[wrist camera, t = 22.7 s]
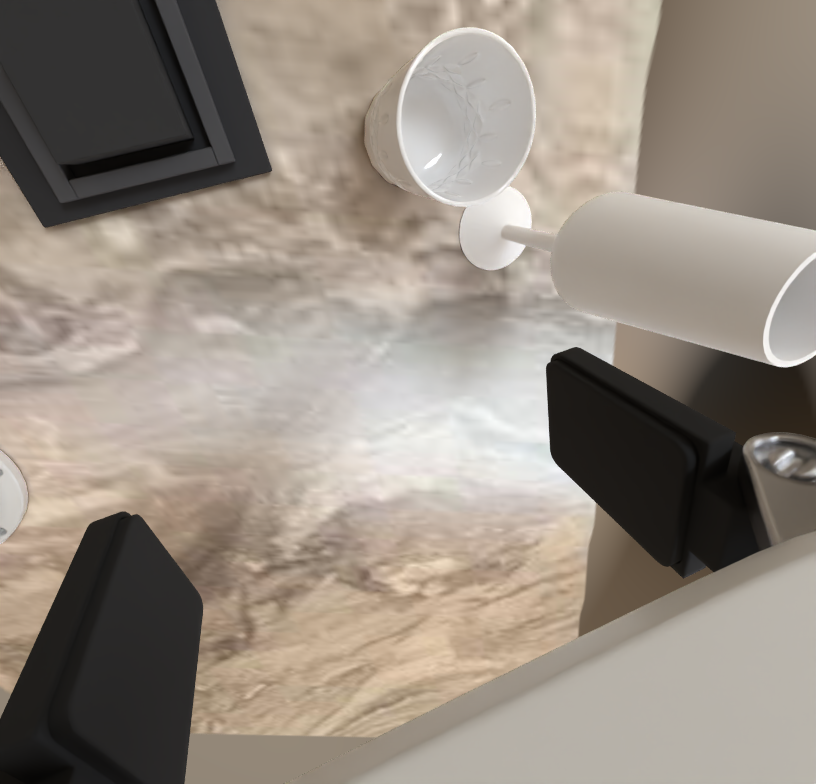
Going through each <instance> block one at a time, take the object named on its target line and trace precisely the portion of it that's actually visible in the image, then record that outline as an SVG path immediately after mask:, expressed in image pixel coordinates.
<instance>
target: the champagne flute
mask: <svg viewBox="0 0 816 784" xmlns="http://www.w3.org/2000/svg"><path fill="white" fill-rule="evenodd" d="M531 224H532V220H531V212H530V208H529V205H528V203H527V201H526V199H525V198H524V197H523V195H522V194H521V193H520V192H519V191H517V190H516V189H514V188H512V187H510V186H508V187H507V188H506V189H505V190H504V191H503V192H501V193H500V194H499V195H497V196H496V197H494V198H493V199H491V200H489V201H487V202H485V203H482V204H479V205H475V206H469V207H466V209H465V211H464V213H463V216H462V219H461V223H460V231H459V237H460V244H461V247H462V250H463V252H464V254H465V256H466V258H467V259H468V260H469V261H470V262H471V263H472V264H473V265H475V266H476V267H478V268H481V269H484V270H497V269H500V268H503V267H505V266H507V265H509V264H511V263H512V262H513V261H514V260H515V259H516V258H517V257H518V256H519V255H520V254H521V253H522V251H523V249H524V248H525V246H526V245H527V246H530V247H534V248H538V249H541V250H545V251H549V252H551V257H550V270H551V276H552V280H553V283H554V286H555V288H556V290H557V292H558V294H559V296H560V297H561V298H562V299H563V301H564V302H565V303H567V304H568V305H569V306H570V307H572V308H573V309H575V310H578V311H580V312H583V313H587V314H591V315H594V316H598V317H602V318H605V319H609V320H612V321H616V322H620V323H623V324H627V325H630V326H634V327H638V328H641V329H645V330H648V331H652V332H656V333H659V334H663V335H666V336H670V337H674V338H678V339H681V340H684V341H688V342H692V343H695V344H699V345H703V346H707V347H710V348H713V349H717V350H720V351H724V352H728V353H731V354H735V355H739V356H742V357H746V358H750V359H753V360H757V361H760V362H764V363H767V364H771V365H775V366H778V367H790V366H795V365H798V364H800V363H803V362H805V361H807V360H808V359H810V358H812V357H813V356H815V355H816V231H815V230H810V229H805V228H800V227H795V226H790V225H785V224H780V223H775V222H770V221H766V220H761V219H756V218H751V217H746V216H741V215H736V214H731V213H726V212H721V211H716V210H712V209H706V208H701V207H696V206H692V205H687V204H682V203H677V202H672V201H667V200H662V199H657V198H652V197H648V196H643V195H638V194H633V193H628V192H623V191H621V192H610V193H606V194H603V195H600V196H597V197H595V198H593V199H591V200H589V201H587V202H586V203H585V204H583V205H582V206H581V207H580V208H578V209H577V210H576V211H575V212H573V213H572V214H571V216H570V217H569V218H568V219H567V220H566V221H565V223H564V224H563V226H562V227H561V229H560V230H559V232H558V234H553V233H548V232H544V231H539V230H534V229H531Z"/></svg>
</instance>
